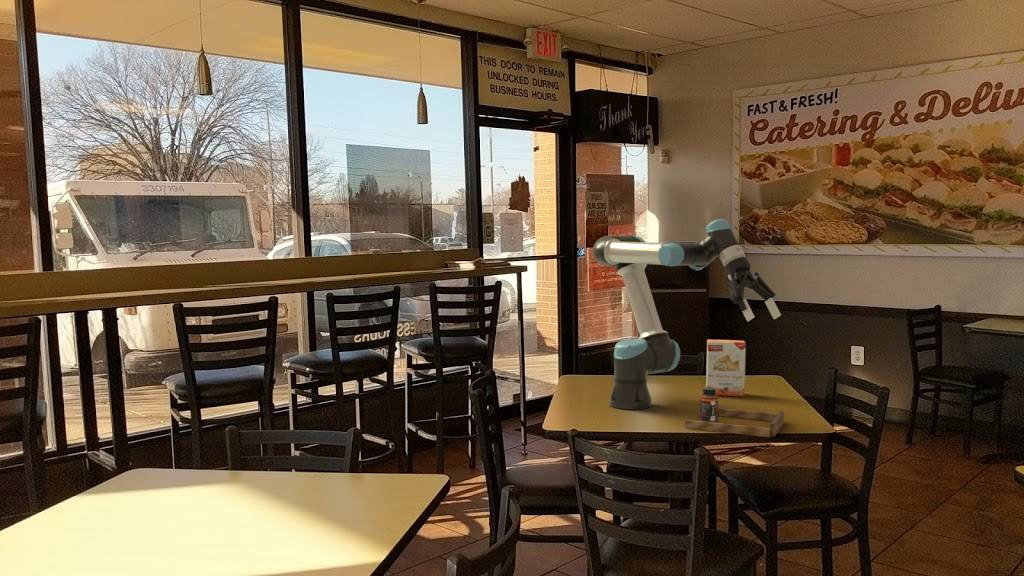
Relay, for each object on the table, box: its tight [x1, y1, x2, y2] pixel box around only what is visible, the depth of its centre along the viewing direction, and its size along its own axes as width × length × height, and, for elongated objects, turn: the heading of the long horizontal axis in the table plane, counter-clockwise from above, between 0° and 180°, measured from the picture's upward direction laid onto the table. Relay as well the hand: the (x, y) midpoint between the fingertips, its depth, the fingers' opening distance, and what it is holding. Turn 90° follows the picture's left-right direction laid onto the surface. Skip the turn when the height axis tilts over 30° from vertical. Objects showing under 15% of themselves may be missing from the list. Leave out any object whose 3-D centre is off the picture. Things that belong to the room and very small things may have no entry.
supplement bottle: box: [698, 386, 719, 423], centre depth 259 cm, size 6×6×11 cm
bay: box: [684, 407, 785, 438], centre depth 255 cm, size 27×22×4 cm
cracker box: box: [705, 339, 747, 397], centre depth 301 cm, size 14×6×21 cm, turn 80°
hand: (764, 318), depth 251 cm, fingers open, 13 cm apart
